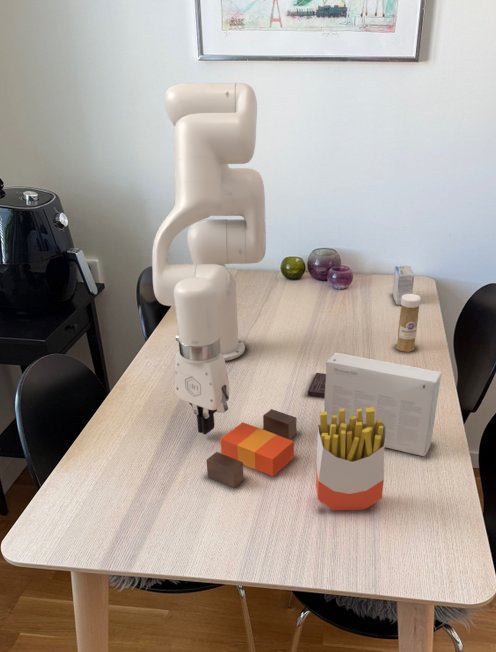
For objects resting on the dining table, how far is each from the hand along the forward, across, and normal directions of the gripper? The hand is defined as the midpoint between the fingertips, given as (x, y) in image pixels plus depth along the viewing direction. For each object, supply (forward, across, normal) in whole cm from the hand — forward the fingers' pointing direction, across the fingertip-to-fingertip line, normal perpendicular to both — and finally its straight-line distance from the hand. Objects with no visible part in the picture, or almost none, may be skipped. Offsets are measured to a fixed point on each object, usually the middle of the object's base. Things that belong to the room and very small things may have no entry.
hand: (206, 430), depth 133 cm
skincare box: (+2, +29, +17) cm, 34 cm away
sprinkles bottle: (+2, +17, +58) cm, 60 cm away
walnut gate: (+1, +12, 0) cm, 12 cm away
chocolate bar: (+2, +16, +32) cm, 36 cm away
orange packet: (+1, +13, -1) cm, 13 cm away
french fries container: (+1, +34, -4) cm, 34 cm away
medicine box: (+2, +4, +86) cm, 86 cm away
